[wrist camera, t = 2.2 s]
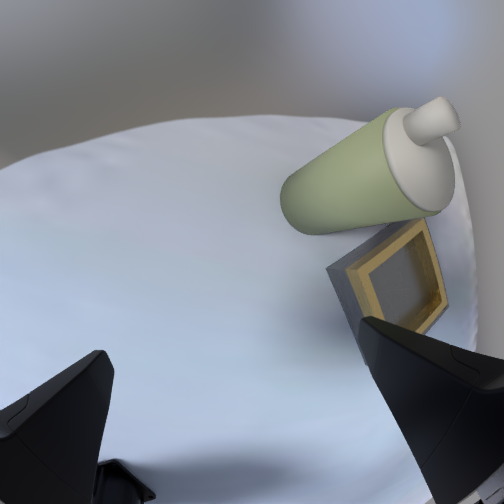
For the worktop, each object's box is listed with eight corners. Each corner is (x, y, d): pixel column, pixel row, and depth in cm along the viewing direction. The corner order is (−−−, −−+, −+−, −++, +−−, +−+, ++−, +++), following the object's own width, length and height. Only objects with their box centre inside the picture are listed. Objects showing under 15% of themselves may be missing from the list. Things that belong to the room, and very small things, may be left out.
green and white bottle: (348, 218, 23) (499, 185, 9) (299, 247, 22) (465, 230, 8) (320, 161, 23) (454, 82, 9) (268, 184, 22) (402, 87, 7)
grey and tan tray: (429, 303, 26) (459, 308, 22) (365, 365, 24) (394, 379, 19) (401, 215, 25) (433, 209, 21) (324, 268, 23) (356, 269, 18)
